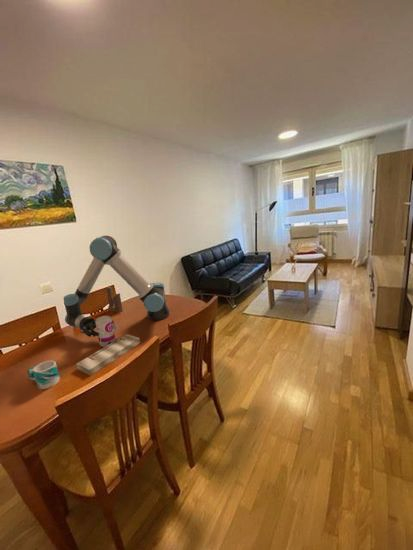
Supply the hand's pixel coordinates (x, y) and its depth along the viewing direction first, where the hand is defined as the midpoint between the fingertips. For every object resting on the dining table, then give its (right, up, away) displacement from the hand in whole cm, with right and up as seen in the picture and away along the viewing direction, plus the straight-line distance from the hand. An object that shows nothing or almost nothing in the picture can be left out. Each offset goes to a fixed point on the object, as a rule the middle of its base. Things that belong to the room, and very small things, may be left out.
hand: (110, 331), depth 128 cm
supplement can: (-4, -8, +5) cm, 10 cm away
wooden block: (-16, +3, +50) cm, 52 cm away
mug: (-20, -17, -23) cm, 35 cm away
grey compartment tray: (+2, -11, -6) cm, 12 cm away
